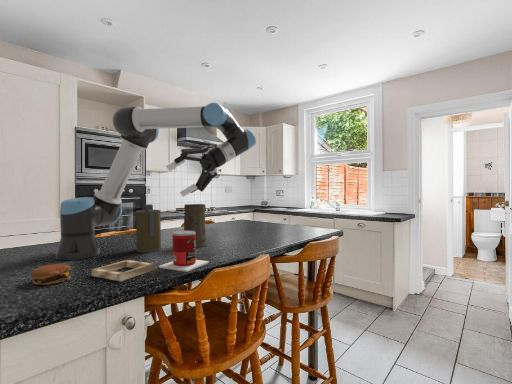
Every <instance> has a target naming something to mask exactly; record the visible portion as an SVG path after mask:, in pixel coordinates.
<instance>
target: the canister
mask: <svg viewBox="0 0 512 384" xmlns="http://www.w3.org/2000/svg"><path fill="white" fill-rule="evenodd" d="M161 212H162V210H161V209H154V206H153V204H146V203H145V204H144V205H143V209H139V210H135V216H136V217H135V219H136V221H135V223H136V224H135V225H136V227H135V228H136V229H135V230H136V251H135V252H137V253H153V252H158V251H161V250H162V242H161V241H162V238H161V237H162V235H161V234H162V232H161V231H162V229H161V225H162V222H161V219H162V218H161Z"/></svg>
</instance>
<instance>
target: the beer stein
mask: <svg viewBox="0 0 512 384" xmlns="http://www.w3.org/2000/svg"><path fill="white" fill-rule="evenodd" d="M206 209H207V207H206V204H205V203H194V204H193V203H192V204H191V203H190V204H187V203H186V204H184V208H183V210H184V216H183V217H184V218H183V231H195V233H196V249H197V248H203V247H206V246H207V245H208V241H207V239H208V238H207V233H206V231H207V230H206Z"/></svg>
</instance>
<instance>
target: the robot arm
mask: <svg viewBox="0 0 512 384" xmlns="http://www.w3.org/2000/svg"><path fill="white" fill-rule="evenodd" d="M112 125H113V128H114V130H115V131H116V132H117V133H118V134H119V135H120V138H119V139H120V140H121V143H120V146H119V148H118V150H117V153H116V155H115V157H114V159H113V161H112V164H111V166H110V168H109V170H108V173H107V174H106V177H105V179H104V181H103V183H102V185H101V188H100V190H97V191H96V192H94V194H93V197H90V196H84V197H74V198H68V199H64V200H63V201H62V202H61V203H60V207H59V208H60V210H59V214H60V215H59V217H60V221H59V222H60V223H59V224H60V239H59V241H58V245H57V248H56V251H55V259H56V260H60V261H75V260H81V259H88V258H93V257H97V256H99V255H100V252H101V249H100V246H99V244H98V243H99V242H98V241H97V238H96V236H95V235H96V234H95V233H96V232H95V227H102V226H108V225H109V226H110V225H113V224H114V223H116V222H117V221H118V220H119V219H120V218H121V217H122V214H123V208H122V207H123V206H122V202H123V201H122V199H121V196H122V194H123V192H124V190H125V188H126V186H127V184H128V182H129V179H130V177H131V175H132V173H133V171H134V168H135V166H136V164H137V162H138V159H139V157H140V155H141V153H142V151H144V150H145V151H146V150H147V149H148V147H149V144H151V143H153V142H155V141H156V140H157V139H158V136H159V132H160V129H185V128H186V129H187V128H189V129H190V128H215V129H218V130H219V131H220V132H221V133H222V135H223V136H224V137H225V139H226V140H225V141H223V142H221V143H219V144H218V145H217V146H214V147H212V149H210V150H209V148H208V147H207V146H206V145H202V146H201V147H192V148H191V147H190V148H182V149H181V150H180V152H181V153H180V155H179V156H177V157H176V158H174V160H173V161H172V162H171V163H168V164H166V166H165V168H166V169H167V170H168V171H172V170H175V169H176V168H177V167H179V166H181V165H183V164H184V163H186V160H187V161H193V162H199V164H200V166H201V173H200V175H199V177H198V179H197V180H196V183H192V184H191V185H190V186H187V187H186V188H184V189H183V190H181V191H180V192H179V194H180V195H181V196H182V197H186V196H188V195H189V194H190V193H191V194H193V193H194V192H196V191H200V192H201V193H202V192H204V190H205V189H206V188H207V186H208V185H209V184H210V182H211V181H212V180H213V179H214V178H215V177H217V176H218V172H216V170H215V169H216V168H220V167H222V166H224V165H225V164H226V163H229V162H230V161H232V160H233V159H235V158H236V157H237V156H240V155H241V154H243V153H245V152H247V151H248V150H249V149H251V148H252V147H254V146H255V145H256V143H257V140H256V135H254V132H252V131H251V130H250V129H248V128H247V129H243V128H242V127H241V126H240V124H239V123H238V122H237V120H236V119H235V117H234V116H233V114H232V113H231V111H229V110H228V108H225V107H224V106H222V105H221V104H220V103H217V102H210V103H208V104H206V106H188V107H187V106H183V107H164V108H163V107H162V108H161V107H160V108H142V107H141V106H126V107H125V106H124V107H120V108H119V109H117V110H116V111H115V112H114V114H113V117H112ZM197 154H202V155H197Z"/></svg>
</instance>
